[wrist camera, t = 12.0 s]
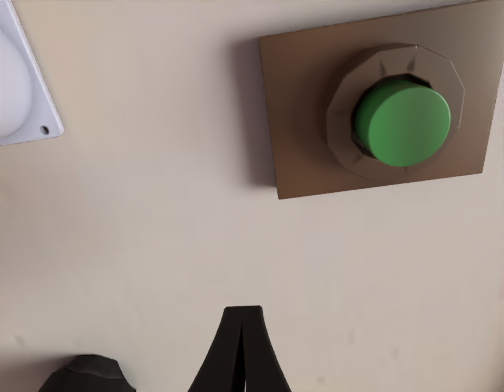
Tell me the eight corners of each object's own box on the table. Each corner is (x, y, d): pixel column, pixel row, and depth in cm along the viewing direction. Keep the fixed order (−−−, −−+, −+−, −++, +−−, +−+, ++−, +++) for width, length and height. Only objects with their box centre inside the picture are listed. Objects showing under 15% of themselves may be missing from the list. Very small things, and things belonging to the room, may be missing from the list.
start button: (354, 157, 17) (366, 172, 15) (354, 86, 15) (368, 93, 13) (424, 147, 17) (446, 161, 15) (432, 74, 15) (457, 80, 13)
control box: (276, 188, 21) (280, 215, 18) (257, 36, 17) (258, 38, 14) (465, 162, 20) (504, 186, 17) (492, -2, 16) (548, -10, 13)
